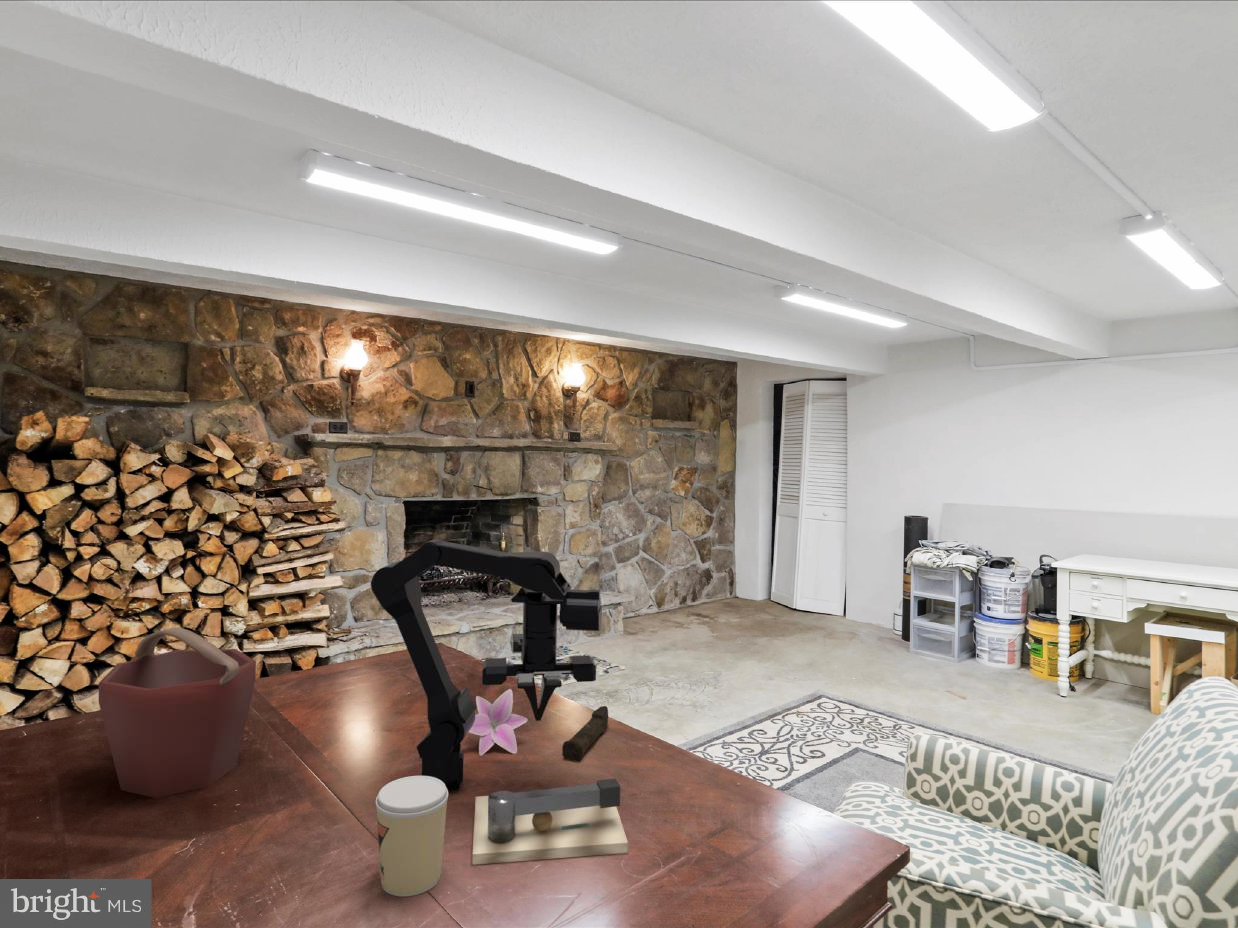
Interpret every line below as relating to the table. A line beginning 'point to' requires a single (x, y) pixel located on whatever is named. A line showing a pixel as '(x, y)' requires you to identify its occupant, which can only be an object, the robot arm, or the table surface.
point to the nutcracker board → (551, 835)
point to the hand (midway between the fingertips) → (538, 719)
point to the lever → (545, 804)
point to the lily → (496, 723)
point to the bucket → (176, 714)
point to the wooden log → (586, 735)
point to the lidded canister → (411, 834)
